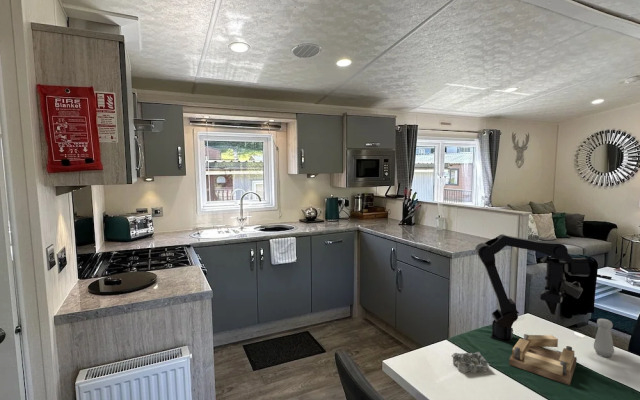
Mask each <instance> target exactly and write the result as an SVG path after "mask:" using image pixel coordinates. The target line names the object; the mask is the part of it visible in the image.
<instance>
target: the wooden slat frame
mask: <svg viewBox="0 0 640 400" xmlns="http://www.w3.org/2000/svg"><path fill="white" fill-rule="evenodd" d="M565 347H566V348H565ZM565 347H563V349H562V351H561V352H558V351H556V350H552V349H549V348H547V347H529V341H527V340H524V338H519V339H518V341H517V342H516V343H515V344H514V346H513V347H512V350H511V351H512V354H511V355H510V357H509V359H508V365H509V366H512V367H515V368H518V369H521V370H523V371H526V372H528V373H529V372H530V373H533V374H535V375H539V376H541V377H544V378H547V379H550V380H552V381H553V380H554V381H556V382H559V383H562V384H564V385H566V386H567V385H568V386H571V382H572V378H573V375H574V372H575V370H576V366H577V361H578V359H577V357H578V356H577V357H576V356H575V350H573V347H572V346H570V345H566V346H565Z"/></svg>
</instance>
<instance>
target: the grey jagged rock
mask: <svg viewBox="0 0 640 400" xmlns="http://www.w3.org/2000/svg"><path fill="white" fill-rule="evenodd" d="M451 358H452V365H453V367H457V371H458V372H461V373H463V374H467V373H468V372H472V373H474V374H475V373H477V371H481V372H483V373H487V372H486V371H487V370H488V367H489V366H490V363H488V360H486V358H485V357H484V356H483V355H482V354H481V353H480V351H476V352H473V353H472V352H470V353H469V352H466V353H463V352H462V353H458V352H454V353H452V355H451Z"/></svg>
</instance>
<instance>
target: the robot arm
mask: <svg viewBox="0 0 640 400" xmlns="http://www.w3.org/2000/svg"><path fill="white" fill-rule="evenodd" d="M507 246H508V247H513V248H516V249H517V248H518V249H523V250H528V251H533V252H538V253H541V254H544V255H545V256H544V257H542V258H540V260H539V261H540V262H542V263H543V264H546V269H545V270H546V272H545V277H544V279H545V286H544V291H542V292H541V294H540V300H541V301H545V304H546V305H547V307H548V309H549V312H550V314H551V315H554V316H555V315H556V313H557V312H558V311H557V310H558V308H559V304H561V303H562V302H563V300H564V298H565V297H566V294H568V295H570V296H572V297H573V298H575V299H576V300H577V299H579V298H580V296H581V294H582V293H583V291H584V289H583V287H581V283H580V282H578V281H573V282H569V281H568V280H567V278H566V277H565V273H567V275H569V276H573V277H575V276H576V277H577V276H578V277H589V276H590V274H591V268H590V267H591V266H590V265H589V262H588V258H586V257H572V256H571V255H570V253H569V252H568V251H569V250H568V247H567V246H566V245H565V244H563V243H560V242H558V241H555V240H532V239H528V238H523V237H522V238H521V237H517V236H511V235H506V234H499V235H497V236H496V237H494V238H492V239H489V240H486V241H485V242H480V243H478V244H477V245H476V247H475V249H474V250H475V253H476V255H477V256H478V258H479V260H480V261H481V263H482V265H483V266H484V268H485V270H486V273H487V276H488V279H489V281H490V285H491V287H492V289H493V292H494V295H495V298H496V306H497V307H496V308H497V309H496V310H494V311H493V312H492V313H491V316H492V317H493V320H492V325H491V326H492V327H491V330H492V331H491V332H492V334H491V335H490V338H492V339H495V340H498V341H502V342H504V343H509V342H510V341H511V340H512V339H513V337H514V336H513V335H514V334H513V333H514V332H513V331H514V328H513V324H514V323H515V322H516V321H517V320H518V319H519V316H518V314H520V312H519V311H518V308H517V305H516V303H515V301H514V300H513V299H512V298H509V297H508V296H507V292H506V290H505V287H504V284H503V282H502V279H501V277H500V274H499V271H498V269H497V265H496V257H495V256H496V254H498V253H499V252H501V251H502V250H503V249H504V248H505V247H507ZM564 293H566V294H564Z"/></svg>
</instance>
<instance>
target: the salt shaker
mask: <svg viewBox="0 0 640 400" xmlns="http://www.w3.org/2000/svg"><path fill="white" fill-rule="evenodd" d="M596 325H597V326H598V327H597V328H598V329H597V332H596V335H595V337H594V338H595V339H594V342H593V350H594V351H595V352H596V354H597V355H598V356H600V357H602V358H611V356H612V355H613V354H614V353H615V346H614V342H613V335H612V330H611V329H613V326H614V325H613V322H612V321H611V320H609V319H606V318H598V319H597V320H596Z"/></svg>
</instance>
